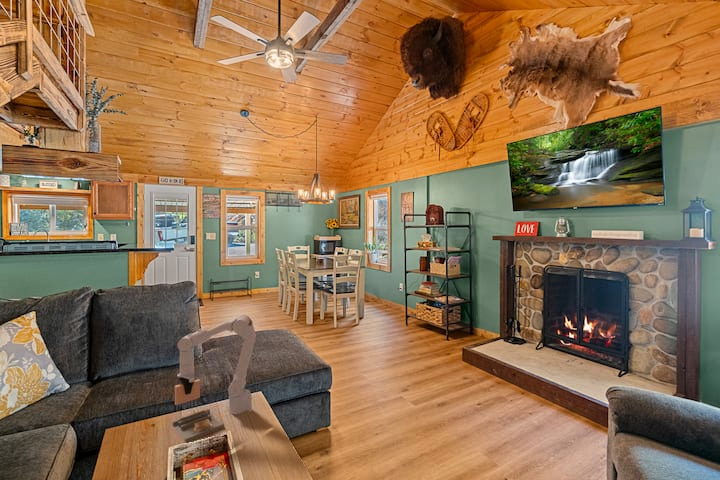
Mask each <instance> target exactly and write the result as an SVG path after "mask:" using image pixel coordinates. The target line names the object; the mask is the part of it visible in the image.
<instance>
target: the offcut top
mask: <svg viewBox="0 0 720 480" xmlns="http://www.w3.org/2000/svg"><path fill="white" fill-rule="evenodd" d="M207 427H210V422H209V420H208V419H207V420H204V421H201V422H197V423H195V429H196V431H198V430H201V429H204V428H207Z"/></svg>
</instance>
